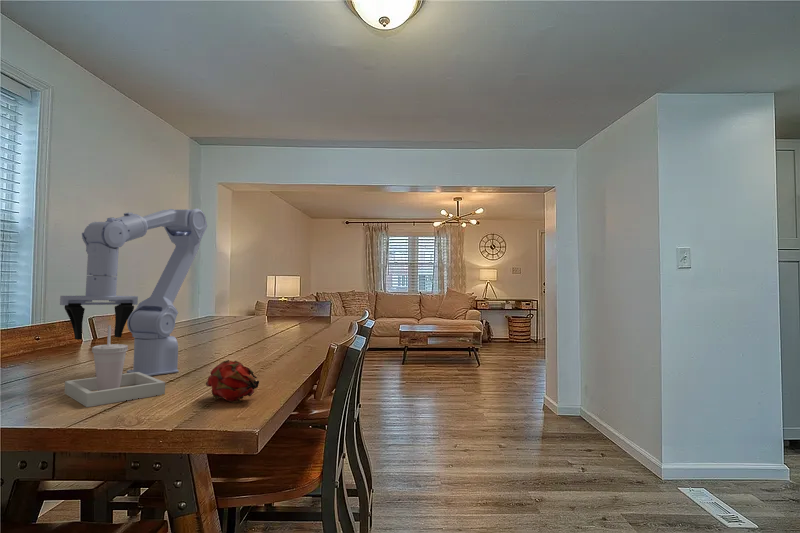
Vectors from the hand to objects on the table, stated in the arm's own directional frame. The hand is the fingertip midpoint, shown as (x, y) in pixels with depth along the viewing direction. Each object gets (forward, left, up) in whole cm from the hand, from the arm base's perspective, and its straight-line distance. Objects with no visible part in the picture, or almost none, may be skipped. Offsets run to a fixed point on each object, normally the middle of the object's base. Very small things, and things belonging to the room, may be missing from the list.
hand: (98, 338), depth 104 cm
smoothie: (0, +9, -11) cm, 14 cm away
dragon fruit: (-15, +30, -11) cm, 35 cm away
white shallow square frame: (0, +10, -10) cm, 14 cm away
